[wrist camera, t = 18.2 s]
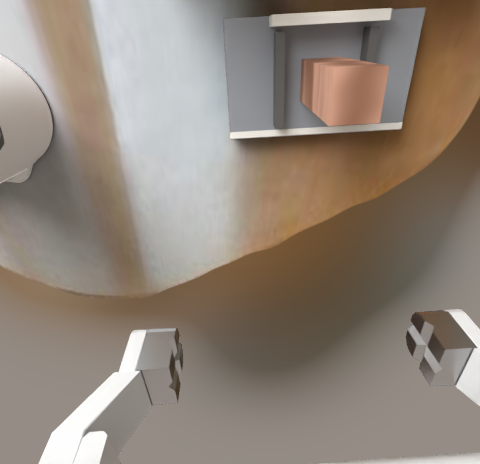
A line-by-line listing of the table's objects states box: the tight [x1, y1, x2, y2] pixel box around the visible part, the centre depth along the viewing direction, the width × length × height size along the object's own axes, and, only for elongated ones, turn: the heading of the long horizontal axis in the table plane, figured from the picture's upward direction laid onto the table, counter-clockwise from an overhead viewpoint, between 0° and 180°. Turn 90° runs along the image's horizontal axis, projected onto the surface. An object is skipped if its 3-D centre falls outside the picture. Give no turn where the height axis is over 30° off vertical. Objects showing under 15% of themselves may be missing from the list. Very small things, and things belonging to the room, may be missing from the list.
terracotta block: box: [300, 57, 389, 126], centre depth 33 cm, size 4×4×13 cm
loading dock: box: [223, 7, 426, 139], centre depth 39 cm, size 22×13×6 cm, turn 93°
